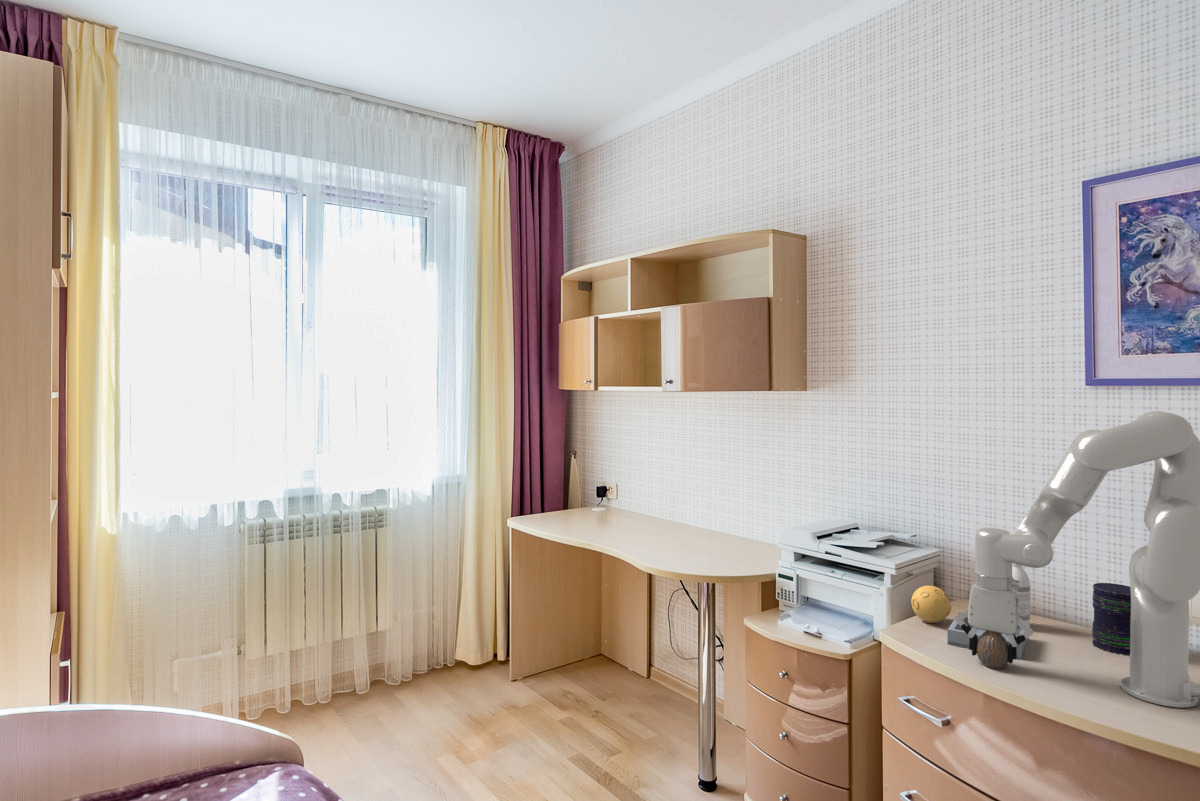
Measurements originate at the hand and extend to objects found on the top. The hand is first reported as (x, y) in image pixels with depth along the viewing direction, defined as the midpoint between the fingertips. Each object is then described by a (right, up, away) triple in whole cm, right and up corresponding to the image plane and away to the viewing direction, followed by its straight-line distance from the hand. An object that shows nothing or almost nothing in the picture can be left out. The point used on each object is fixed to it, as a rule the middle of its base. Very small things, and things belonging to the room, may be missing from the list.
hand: (992, 656), depth 157 cm
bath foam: (+22, -2, +26) cm, 34 cm away
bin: (+7, -2, +15) cm, 16 cm away
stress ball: (0, -2, +29) cm, 29 cm away
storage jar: (+37, -2, +11) cm, 39 cm away
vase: (0, -2, 0) cm, 2 cm away
